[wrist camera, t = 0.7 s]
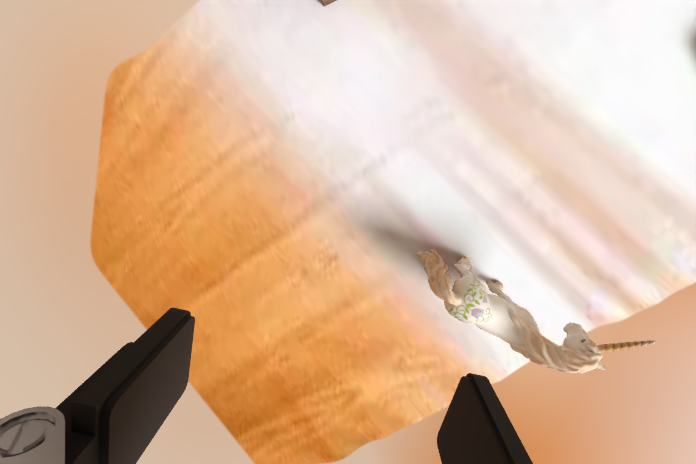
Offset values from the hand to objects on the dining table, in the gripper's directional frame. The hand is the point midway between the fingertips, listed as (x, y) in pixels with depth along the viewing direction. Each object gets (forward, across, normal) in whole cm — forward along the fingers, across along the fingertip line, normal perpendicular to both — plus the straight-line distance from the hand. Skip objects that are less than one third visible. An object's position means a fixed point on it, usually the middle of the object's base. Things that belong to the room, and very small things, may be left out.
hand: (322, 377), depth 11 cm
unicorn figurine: (+29, -19, +4) cm, 35 cm away
